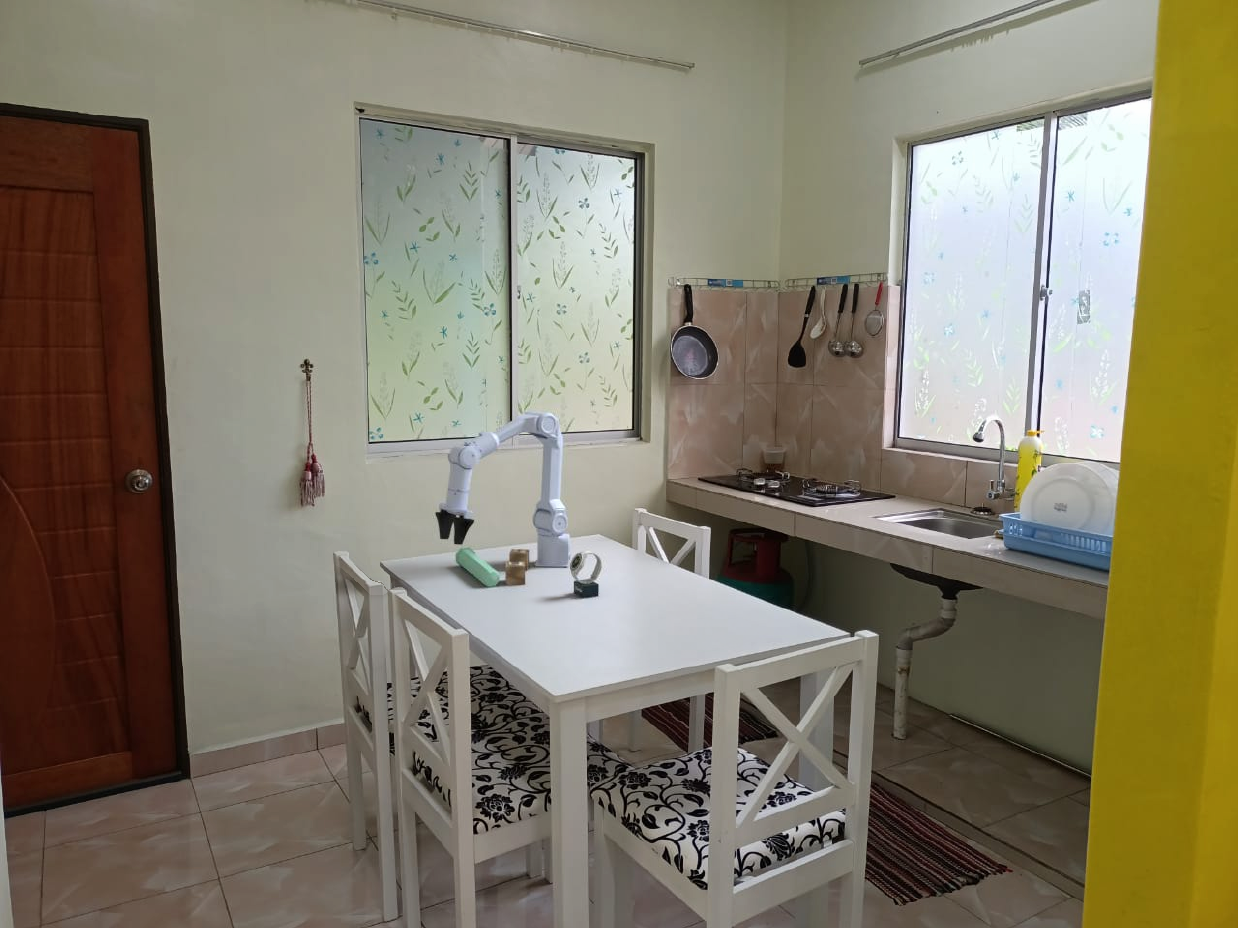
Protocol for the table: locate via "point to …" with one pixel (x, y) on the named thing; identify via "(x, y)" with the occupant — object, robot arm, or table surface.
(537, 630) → the table surface
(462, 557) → the container
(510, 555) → the labelled block
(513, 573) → the labelled block
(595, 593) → the watch
